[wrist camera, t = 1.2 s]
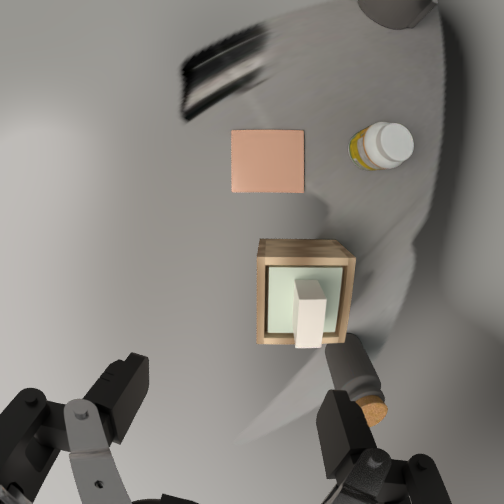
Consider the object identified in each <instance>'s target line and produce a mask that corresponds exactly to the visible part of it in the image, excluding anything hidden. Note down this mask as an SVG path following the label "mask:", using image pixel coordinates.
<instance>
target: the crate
mask: <svg viewBox="0 0 504 504" xmlns="http://www.w3.org/2000/svg"><path fill="white" fill-rule="evenodd" d="M355 263H356V257H355V256H353V255H352V254H351V253H350V252H349V251H348V250H347V249H346V248H344V247H343V246H342V245H341V244H340V243H339V242H338V241H337V240H322V239H260V241H259V247H258V253H257V344H295V340H294V333H268V298H269V265H341V266H342V268H343V269H342V280H341V289H340V298H339V306H338V314H337V321H336V328H335V332H323V336H322V343H321V344H325V343H344V342H345V337H346V331H347V325H348V318H349V312H350V305H351V298H352V289H353V282H354V273H355Z"/></svg>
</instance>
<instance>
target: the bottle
mask: <svg viewBox="0 0 504 504" xmlns="http://www.w3.org/2000/svg"><path fill="white" fill-rule="evenodd" d="M325 355H326V359H327V363H328V366H329V370H330V373H331V377H332V380H333V384H334V387H335V390H346V391H347V393H348V396H349V398H350V401H355V402H356V403H357V404H358V405H359V406H360V407H361V408H362V410H363V413H364V415H365V418H366V420H367V425H369V427H371V426H374V425H376V424H377V423H379V422H380V421H381V420H382V419H383V418H384V417H385V416H386V414H387V410H388V408H387V406H386V405H385V403H384V401H385V397H384V395H383V393H382V391H381V390H380V389H381V382H380V380H379V377H378V375H377V374H376V371H375V369H374V367H373V365H372V363H371V361H370V359H369V357H368V355H367V353H366V351H365V349H364V347H363V346H362V344H361V342H360V340H359V339H358V337H357V336H355V335H353V334H350V333H346V337H345V342H344V343H328V344H327V346H326V348H325Z"/></svg>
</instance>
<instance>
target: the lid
mask: <svg viewBox="0 0 504 504" xmlns="http://www.w3.org/2000/svg"><path fill="white" fill-rule="evenodd" d="M342 269H343V268H342V266H341V265H269V298H268V333H294V340H295V347H296V348H321V343H322V336H323V332H335V328H336V321H337V314H338V306H339V298H340V289H341V280H342Z"/></svg>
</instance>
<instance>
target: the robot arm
mask: <svg viewBox="0 0 504 504" xmlns="http://www.w3.org/2000/svg"><path fill="white" fill-rule="evenodd" d="M358 4H359V6H360V8H361V9H362V11H363V12H364V13H365V14H366V15H367V16H368V17H369V18H371V19H372V20H373V21H375V22H377V23H378V24H380V25H382V26H385V27H387V28H391V29H403V28H406V27H409V28H413V27H414V26H415V25H416V24H417V23H418V22H419V21H420V20H421V19H422V18H423V17H425V16H426V15H427V14H428V13H429V12H430V11H431V10H432V9H433V8H434V7H435V6H436V5H437V4H438V0H358ZM148 388H149V359H148V357H146V356H143V355H139V354H136V353H130V355H129V356H128V357H127V359H126V360H125V361H122V360H117V361H115V362H113V363H111V364H110V365H109V366H108V367H107V368H106V370H105V371H104V373H102V375H101V376H100V378H99V379H98V380H97V381H96V382H95V384H94V385H93V386H92V387H91V389H90V390H89V391H88V392H87V394H86V395H85V396H84V398H83V399H74V400H72V401H70V402H68V403H67V404H60V403H55V402H51V401H47V399H46V396H45V395H44V393H43V392H42V391H40V390H38V389H35V388H26V389H23V390H22V391H20V392H19V393H18V394H17V396H16V397H15V398H14V399H13V400H12V401H11V402H10V404H9V405H8V406H7V407H6V408H5V409H4V411H3V412H2V413H1V414H0V504H33V502H34V500H35V498H36V496H37V494H38V492H39V489H40V488H41V486H42V484H43V482H44V480H45V478H46V476H47V474H48V473H49V471H50V469H51V467H52V465H53V463H54V462H55V460H56V458H57V456H58V454H59V452H60V450H63V451H68V452H71V453H70V454H69V458H70V463H71V467H72V471H73V475H74V478H75V482H76V485H77V489H78V492H79V495H80V498H81V501H82V504H198V503H196V502H193V501H190V500H186V499H181V498H177V497H174V496H169V495H166V494H162V497H161V499H143V500H137V501H133V502H131V500H130V498H129V496H128V494H127V491H126V489H125V487H124V485H123V482H122V480H121V478H120V475H119V473H118V470H117V468H116V465H115V462H114V460H113V457H112V454H111V451H110V449H109V447H110V445H111V443H112V442H115V443H117V444H121V442H122V440H123V439H124V437H125V435H126V433H127V431H128V429H129V427H130V425H131V423H132V421H133V419H134V417H135V415H136V413H137V411H138V409H139V408H140V406H141V404H142V402H143V400H144V398H145V396H146V394H147V391H148ZM316 425H317V430H318V435H319V440H320V445H321V450H322V456H323V461H324V466H325V471H326V477H327V479H336V480H337V484H336V485H335V486H334V487H333V489H332V490H331V491H330V493H329V494H328V495H327V497H326V498H325V499H324V501H323V502H322V503H321V504H411V502H412V504H452V503H451V501H450V498H449V495H448V493H447V490H446V488H445V486H444V483H443V481H442V478H441V476H440V474H439V471H438V469H437V467H436V464H435V463H434V461H433V459H431V457H429V456H427V455H425V454H416V455H414V456H412V458H410V459H409V461H402V460H394V459H391V457H390V455H389V454H388V453H387V452H386V451H384V450H382V449H380V448H377V446H376V443H375V441H374V438H373V435H372V433H371V431H370V428H369V425H367V420H366V418H365V415H364V413H363V410H362V408H361V407H360V406H359V405H358V404H357V403H356V402H355V401H350V398H349V396H348V393H347V391H346V390H329V391H328V392H327V394H326V396H325V399H324V401H323V403H322V405H321V407H320V409H319V411H318V414H317V419H316ZM409 496H410V498H409ZM410 499H411V502H410Z"/></svg>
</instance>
